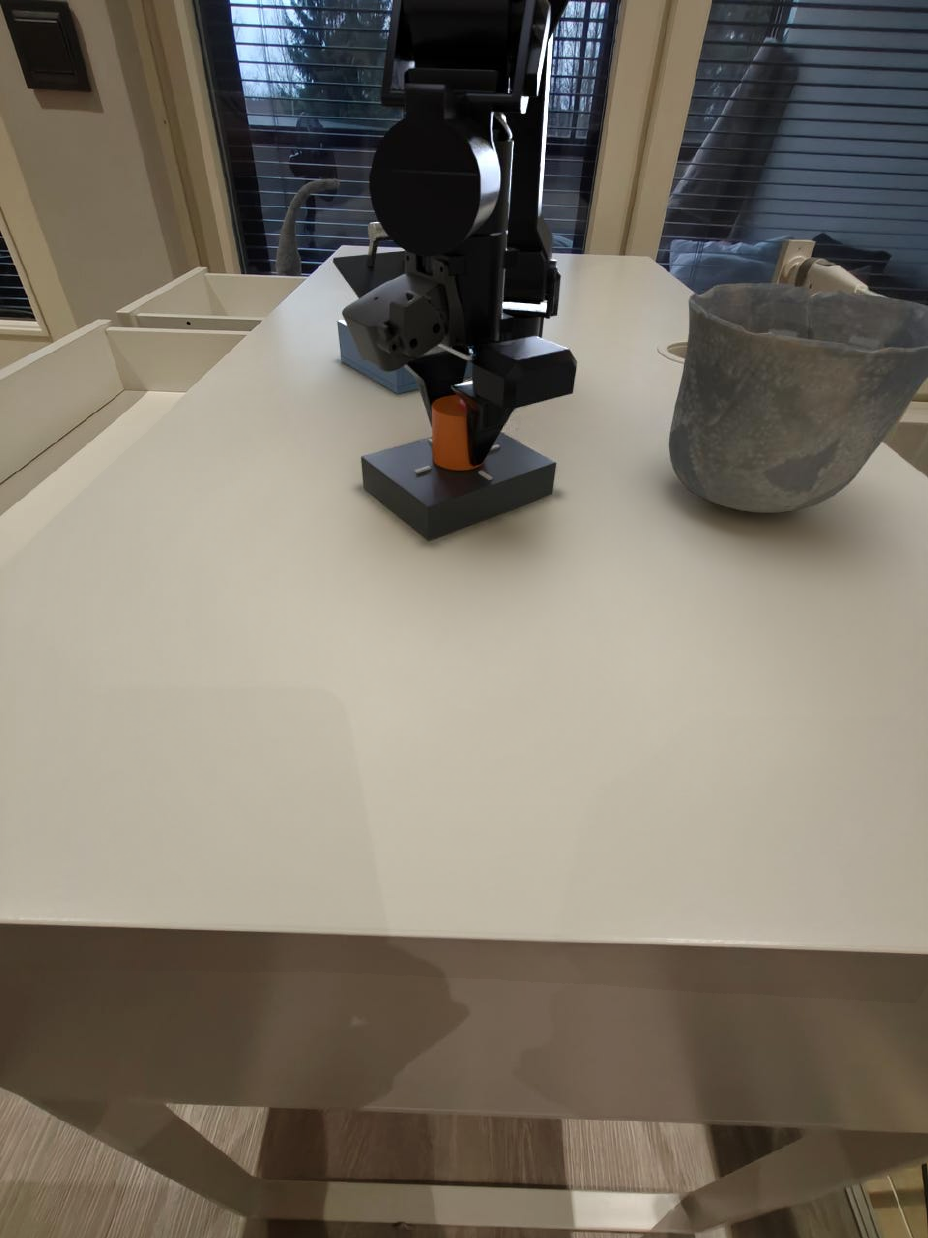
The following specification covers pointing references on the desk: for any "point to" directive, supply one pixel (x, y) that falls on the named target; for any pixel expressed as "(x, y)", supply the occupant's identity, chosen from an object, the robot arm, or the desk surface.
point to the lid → (371, 264)
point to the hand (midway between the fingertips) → (458, 453)
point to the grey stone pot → (790, 391)
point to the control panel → (455, 484)
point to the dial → (450, 434)
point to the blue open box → (392, 380)
